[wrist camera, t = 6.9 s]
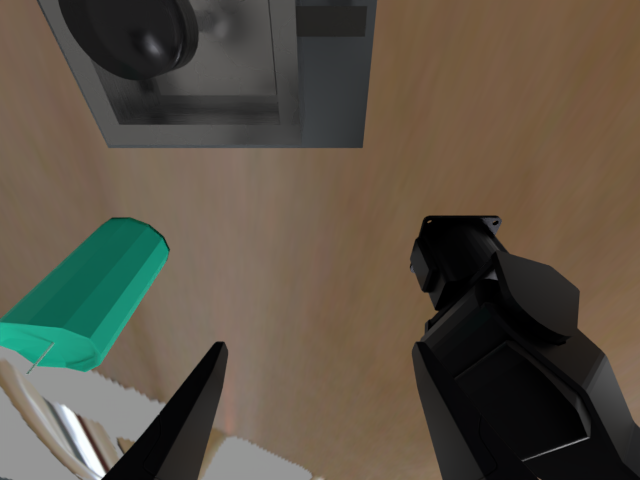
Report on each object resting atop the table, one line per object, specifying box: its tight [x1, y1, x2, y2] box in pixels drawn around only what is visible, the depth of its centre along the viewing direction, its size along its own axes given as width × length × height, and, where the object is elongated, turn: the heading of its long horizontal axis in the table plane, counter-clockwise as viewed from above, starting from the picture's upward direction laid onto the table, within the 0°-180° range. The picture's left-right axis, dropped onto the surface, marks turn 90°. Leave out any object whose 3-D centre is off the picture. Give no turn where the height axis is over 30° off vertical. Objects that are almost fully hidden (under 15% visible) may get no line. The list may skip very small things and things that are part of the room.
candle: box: [0, 217, 170, 375], centre depth 21 cm, size 6×6×12 cm
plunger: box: [58, 0, 277, 95], centre depth 11 cm, size 7×7×8 cm
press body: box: [39, 0, 367, 145], centre depth 13 cm, size 13×10×5 cm
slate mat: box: [37, 0, 377, 148], centre depth 15 cm, size 18×14×1 cm
